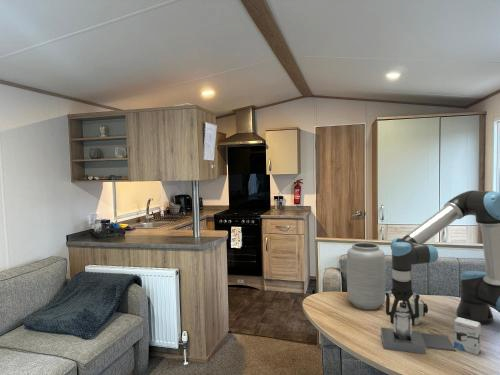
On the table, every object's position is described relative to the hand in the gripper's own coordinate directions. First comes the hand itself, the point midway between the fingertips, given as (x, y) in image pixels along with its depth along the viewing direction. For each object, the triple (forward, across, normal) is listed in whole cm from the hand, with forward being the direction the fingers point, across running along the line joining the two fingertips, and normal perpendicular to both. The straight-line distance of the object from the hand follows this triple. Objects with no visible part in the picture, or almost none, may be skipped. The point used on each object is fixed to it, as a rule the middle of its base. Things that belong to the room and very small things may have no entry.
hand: (402, 331), depth 142 cm
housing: (+5, 0, 0) cm, 5 cm away
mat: (+6, -14, -5) cm, 16 cm away
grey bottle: (+4, 0, 0) cm, 4 cm away
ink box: (+6, -25, -2) cm, 26 cm away
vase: (+6, +13, -40) cm, 42 cm away
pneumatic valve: (+6, -8, -22) cm, 24 cm away
